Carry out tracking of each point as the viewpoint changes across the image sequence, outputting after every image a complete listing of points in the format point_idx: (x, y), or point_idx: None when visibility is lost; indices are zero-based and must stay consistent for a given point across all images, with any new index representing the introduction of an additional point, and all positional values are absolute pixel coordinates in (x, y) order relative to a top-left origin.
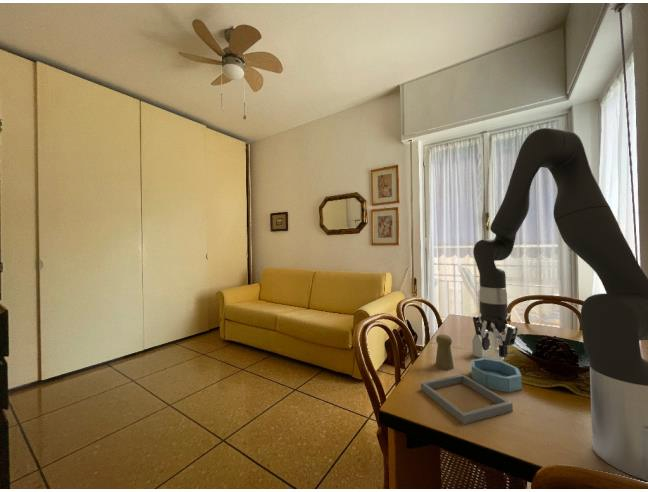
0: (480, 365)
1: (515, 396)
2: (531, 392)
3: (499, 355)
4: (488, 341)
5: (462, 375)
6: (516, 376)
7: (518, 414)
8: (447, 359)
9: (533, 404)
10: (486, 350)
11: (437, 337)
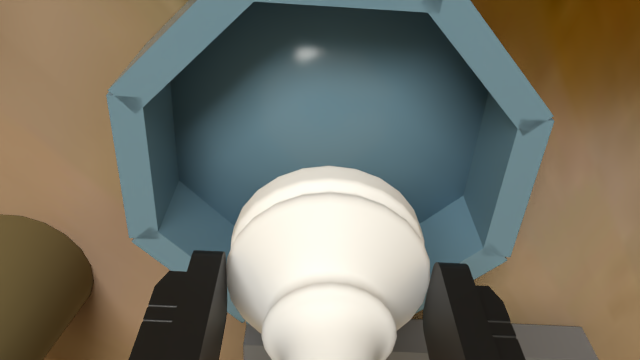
0: (164, 136)
1: (529, 199)
2: (578, 48)
3: (428, 331)
4: (205, 358)
5: (257, 354)
6: (532, 174)
7: (610, 326)
8: (50, 344)
9: (637, 186)
10: (255, 325)
11: None
